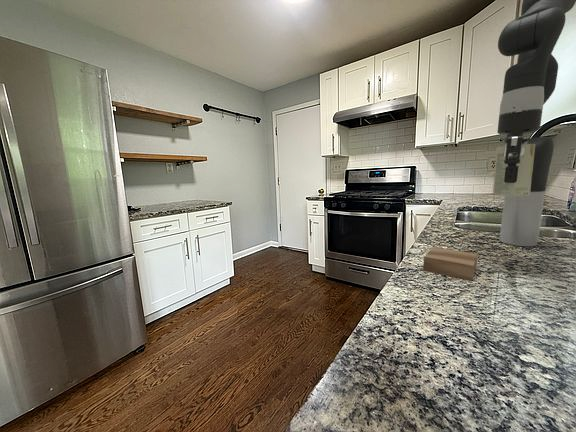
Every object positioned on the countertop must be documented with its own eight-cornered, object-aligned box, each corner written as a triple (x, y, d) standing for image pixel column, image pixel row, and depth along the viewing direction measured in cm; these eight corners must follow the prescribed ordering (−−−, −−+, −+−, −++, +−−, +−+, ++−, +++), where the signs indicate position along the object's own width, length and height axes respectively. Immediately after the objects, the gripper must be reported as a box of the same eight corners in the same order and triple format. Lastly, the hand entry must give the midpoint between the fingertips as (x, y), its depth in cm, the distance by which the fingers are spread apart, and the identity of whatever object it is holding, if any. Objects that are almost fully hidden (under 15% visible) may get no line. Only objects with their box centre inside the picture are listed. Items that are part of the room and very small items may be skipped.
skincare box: (530, 196, 59) (538, 143, 57) (512, 197, 59) (518, 144, 57) (507, 193, 65) (513, 145, 63) (490, 194, 65) (496, 146, 63)
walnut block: (432, 260, 70) (433, 246, 70) (476, 268, 64) (477, 253, 63) (423, 271, 63) (424, 256, 62) (471, 282, 56) (473, 265, 56)
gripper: (502, 117, 66) (495, 180, 69) (495, 110, 56) (488, 183, 59) (542, 112, 61) (533, 180, 64) (543, 103, 51) (531, 183, 54)
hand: (511, 181), depth 61 cm, fingers closed on skincare box, 7 cm apart
